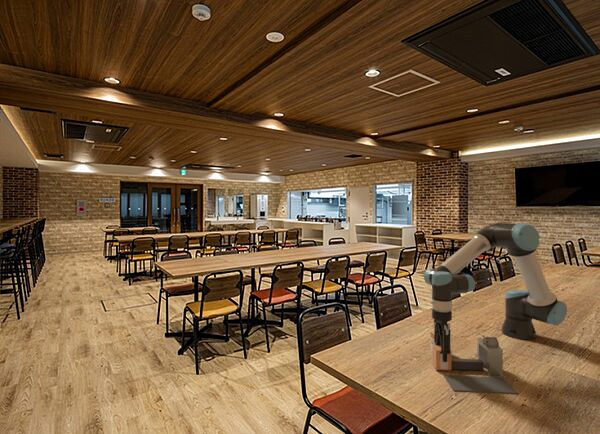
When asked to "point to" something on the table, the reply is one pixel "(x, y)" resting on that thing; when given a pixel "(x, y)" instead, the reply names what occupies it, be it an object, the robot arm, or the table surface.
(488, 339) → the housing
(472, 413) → the table surface
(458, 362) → the plug
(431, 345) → the ink box
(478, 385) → the mat
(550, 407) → the table surface
